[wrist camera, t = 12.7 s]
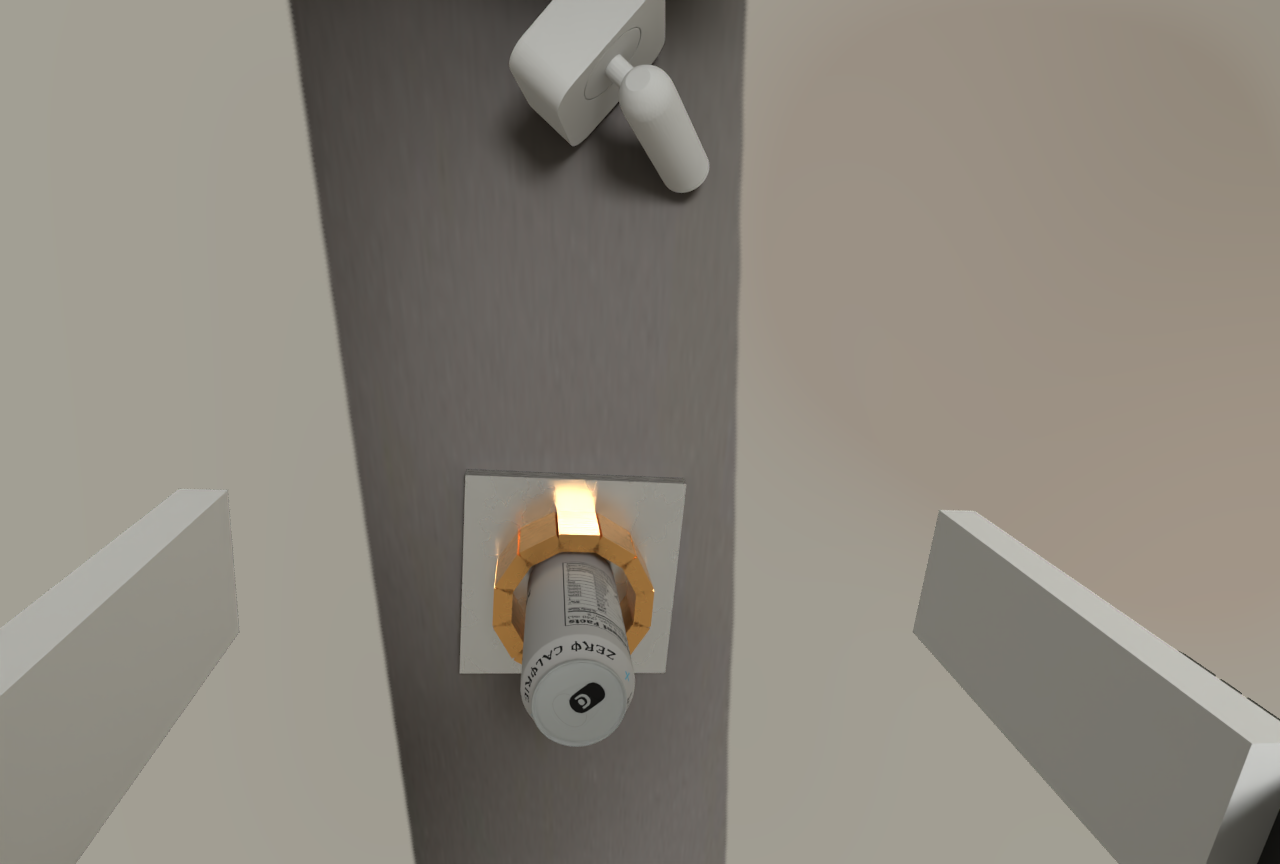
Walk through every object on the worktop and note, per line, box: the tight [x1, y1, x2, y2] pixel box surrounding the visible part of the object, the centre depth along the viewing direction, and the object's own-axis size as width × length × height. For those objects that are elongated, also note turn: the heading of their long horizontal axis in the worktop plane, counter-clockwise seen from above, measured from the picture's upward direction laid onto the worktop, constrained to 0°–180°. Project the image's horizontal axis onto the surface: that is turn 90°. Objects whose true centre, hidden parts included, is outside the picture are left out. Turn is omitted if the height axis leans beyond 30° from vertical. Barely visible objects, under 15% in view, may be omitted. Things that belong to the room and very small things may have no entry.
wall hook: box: [509, 0, 709, 193], centre depth 41 cm, size 8×10×10 cm
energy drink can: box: [520, 552, 635, 747], centre depth 44 cm, size 6×6×15 cm
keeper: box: [460, 469, 686, 673], centre depth 50 cm, size 15×15×5 cm
